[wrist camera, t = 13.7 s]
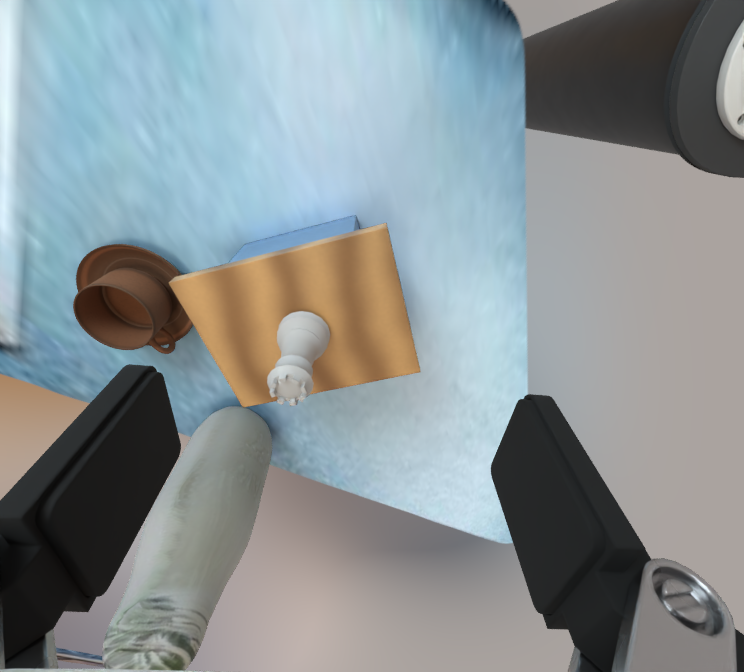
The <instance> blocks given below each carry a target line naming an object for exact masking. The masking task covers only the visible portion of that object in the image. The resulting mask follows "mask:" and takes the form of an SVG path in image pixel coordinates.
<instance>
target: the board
mask: <svg viewBox="0 0 744 672" xmlns="http://www.w3.org/2000/svg"><path fill="white" fill-rule="evenodd" d="M169 285H170V286H171V288H172V290H173V291H174V293H175V295H176V296H177V298H178V300H179V301H180V303H181V305H182V306H183V308H184V310H185V311H186V313H187V315H188V316H189V318H190V320H191V321H192V323H193V325H194V326H195V328H196V330H197V331H198V333H199V335H200V336H201V338H202V340H203V341H204V343H205V345H206V346H207V348H208V350H209V351H210V353H211V355H212V356H213V358H214V360H215V362H216V363H217V365H218V367H219V368H220V370H221V372H222V373H223V375H224V377H225V378H226V380H227V382H228V383H229V385H230V387H231V388H232V390H233V392H234V393H235V395H236V397H237V398H238V400H239V402H240V403H241V405H242V407H243V408H244V407H249V406H253V405H258V404H263V403H268V402H273V401H277V399H278V397H277V396H275V397H273V398H272V397H271V395H270V393H269V392H270V389H269V386H268V384H267V377H268V375H269V373H270V372H271V370H273V369H275V364H276V363H277V361H278V360H279V359H280V358H281V350H280V348H279V346H278V343H277V331H278V329H279V324H280V323H281V321H282V320H283V318H284V317H286V316H287V315H289V314H291V313H294V312H299V311H304V312H310V313H313V314H315V315H317V316H319V317H320V318H322V319H323V321H324V322H325V323H326V324H327V325H328V328H329V331H330V339H329V343H328V346H327V349H326V350H325V351H324V353H323V354H322V355H321V357H319V358H317V359H316V360H315V361H314V362H313V365H312V368H313V375H312V377H311V378H312V380H313V383H314V384H313V390H312V391H311V393H310V394H313V393H318V392H323V391H328V390H333V389H338V388H343V387H348V386H353V385H358V384H363V383H368V382H373V381H378V380H383V379H388V378H393V377H398V376H403V375H408V374H413V373H418V372H420V367H419V362H418V358H417V353H416V349H415V344H414V340H413V336H412V331H411V327H410V323H409V318H408V314H407V310H406V305H405V301H404V297H403V292H402V288H401V284H400V279H399V275H398V271H397V266H396V262H395V258H394V253H393V249H392V245H391V240H390V236H389V232H388V227H387V223H384V224H380V225H376V226H372V227H368V228H364V229H360V230H356V231H353V232H349V233H345V234H341V235H337V236H333V237H329V238H325V239H321V240H317V241H313V242H310V243H306V244H302V245H298V246H294V247H290V248H286V249H282V250H278V251H274V252H270V253H267V254H263V255H259V256H255V257H251V258H247V259H243V260H239V261H235V262H231V263H227V264H224V265H220V266H216V267H212V268H208V269H204V270H200V271H196V272H192V273H188V274H184V275H181V276H177V277H174V278H173V279H172V280H171V281H170V282H169Z"/></svg>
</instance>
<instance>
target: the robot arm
mask: <svg viewBox="0 0 744 672" xmlns="http://www.w3.org/2000/svg"><path fill="white" fill-rule="evenodd" d="M716 103H717V109H718V114H719V116H720V119H721V121H722V123H723V125H724V126H725V127H726V129H727V130H728V131H729V132H730V133H731V134H733V135H734V136H736V137H738V138H739V139H741V140H744V20H743V22H742V23H741V25H740V26H739V28H738V29H737V31H736V33H735V35H734V37H733V39H732V41H731V43H730V44H729V46H728V48H727V51H726V54H725V56H724V59H723V62H722V64H721V67H720V72H719V76H718V81H717V89H716ZM180 450H181V443H180V439H179V435H178V431H177V428H176V424H175V420H174V416H173V412H172V408H171V404H170V400H169V396H168V393H167V389H166V385H165V381H164V377H163V375H162V374H161V373H159V372H157V370H156V369H155V368H154V367H153V366H143V365H130V364H129V365H126V366H125V367H124V368H123V369H122V370H121V371H120V372H119V373H118V374H117V375H116V376H115V377H114V378H113V379H112V380H111V381H110V383H109V384H108V385H107V386H106V387H105V388H104V389H103V390H102V391H101V392H100V393H99V394H98V396H97V397H96V398H95V399H94V400H93V401H92V402H91V403H90V404H89V405H88V406H87V407H86V409H85V410H84V411H83V412H82V413H81V414H80V415H79V416H78V417H77V418H76V419H75V420H74V422H73V423H72V424H71V425H70V426H69V427H68V428H67V429H66V430H65V431H64V432H63V433H62V435H61V436H60V437H59V438H58V439H57V440H56V441H55V442H54V443H53V444H52V445H51V447H49V449H48V450H47V451H46V452H45V453H44V454H43V455H42V456H41V457H40V458H39V460H37V462H36V463H35V464H34V465H33V466H32V467H31V468H30V469H29V470H28V471H27V473H25V475H24V476H23V477H22V478H21V479H20V480H19V481H18V482H17V483H16V484H15V485H14V487H13V488H12V489H11V490H10V491H9V492H8V493H7V494H6V495H5V496H4V497H3V498H2V499H1V500H0V672H217V671H176V670H132V669H58V662H57V654H56V646H55V639H54V631H53V628H54V627H55V625H56V623H57V622H58V620H59V618H60V617H61V615H62V613H63V612H64V611H72V612H88V611H89V610H90V608H91V606H92V604H93V602H94V601H95V599H96V597H97V596H102V595H103V594H104V593H105V592H106V591H107V589H108V587H109V586H110V584H111V582H112V580H113V579H114V577H115V575H116V573H117V571H118V569H119V567H120V566H121V564H122V562H123V560H124V558H125V556H126V554H127V552H128V551H129V549H130V547H131V545H132V543H133V541H134V539H135V537H136V536H137V534H138V532H139V530H140V528H141V526H142V525H143V523H144V521H145V519H146V517H147V515H148V513H149V511H150V510H151V508H152V506H153V504H154V502H155V500H156V498H157V497H158V495H159V493H160V491H161V489H162V487H163V485H164V483H165V482H166V480H167V478H168V476H169V474H170V472H171V470H172V469H173V467H174V465H175V463H176V461H177V459H178V457H179V454H180ZM491 475H492V479H493V482H494V485H495V488H496V491H497V494H498V497H499V500H500V503H501V507H502V510H503V513H504V516H505V519H506V522H507V525H508V528H509V531H510V534H511V537H512V540H513V543H514V546H515V550H516V552H517V556H518V559H519V562H520V565H521V568H522V571H523V574H524V577H525V580H526V583H527V586H528V589H529V592H530V596H531V598H532V602H533V604H534V607H535V608H536V610H537V612H538V613H540V614H543V617H544V620H545V622H546V626H547V628H548V629H568V630H569V632H570V635H571V637H572V640H573V643H574V646H575V647H574V651H573V654H572V658H571V661H570V665H569V669H568V672H744V635H743V634H742V633H740V632H739V631H738V630H736V629H735V627H734V623H733V618H732V615H731V614H730V612H729V610H728V608H727V606H726V604H725V602H724V601H723V600H722V599H721V597H720V596H719V595H718V593H717V592H716V591H715V590H714V589H713V588H712V587H711V586H710V585H709V584H708V583H707V582H706V581H705V580H704V579H703V578H701V577H700V576H699V575H698V574H696V573H695V572H693V571H692V570H691V569H689V568H687V567H685V566H683V565H681V564H679V563H677V562H675V561H672V560H668V559H664V558H661V559H652V560H651V558H650V556H649V555H648V553H647V552H646V550H645V547H644V546H643V544H642V542H641V541H640V539H639V537H638V536H637V534H636V533H635V531H634V529H633V528H632V526H631V524H630V523H629V521H628V520H627V518H626V516H625V515H624V513H623V511H622V510H621V508H620V507H619V505H618V503H617V502H616V500H615V498H614V497H613V495H612V494H611V492H610V491H609V489H608V487H607V486H606V484H605V482H604V481H603V479H602V477H601V476H600V474H599V473H598V471H597V469H596V468H595V466H594V465H593V463H592V461H591V460H590V458H589V456H588V455H587V453H586V451H585V450H584V448H583V447H582V445H581V443H580V442H579V440H578V439H577V437H576V435H575V434H574V432H573V430H572V429H571V427H570V426H569V424H568V422H567V421H566V419H565V417H564V416H563V414H562V413H561V411H560V409H559V408H558V406H557V404H556V403H555V401H554V400H553V399H552V397H550V396H543V395H531V394H529V395H526V396H525V397H524V399H520V400H519V401H518V402H517V404H516V407H515V409H514V412H513V414H512V416H511V419H510V421H509V424H508V426H507V428H506V431H505V433H504V436H503V438H502V440H501V443H500V445H499V447H498V450H497V452H496V455H495V457H494V459H493V462H492V465H491Z"/></svg>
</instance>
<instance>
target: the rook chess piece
mask: <svg viewBox="0 0 744 672" xmlns="http://www.w3.org/2000/svg"><path fill="white" fill-rule="evenodd" d="M329 339H330V331H329V328H328V325H327V324H326V323H325V322H324V321H323V319H322V318H320V317H319V316H317V315H315V314H313V313H310V312H304V311H299V312H294V313H291V314H289V315H287V316H286V317H284V318H283V320H282V321H281V323H280V324H279V329H278V331H277V343H278V346H279V348H280V350H281V358H280V359H279V360H278V361H277V363H276V364H275V369H273V370H271V372H270V373H269V375H268V377H267V384H268V386H269V389H270V392H269V393H270V395H271V397H272V398H273V397H275V396H277V397H278V399H277V403H280V404H282V405H283V404H284V401H290V406H294V405H297V402H298V400H300V401H301V402H303V400H304V399H305V398H306V397H307V396H308V395H309V394H310V393H311V391H312V390H313V384H314V383H313V380H312V378H311V377H312V375H313V368H312V365H313V362H314V361H315V360H316V359H317V358H319V357H321V355H322V354H323V353H324V351H325V350H326V349H327V346H328V343H329Z"/></svg>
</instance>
